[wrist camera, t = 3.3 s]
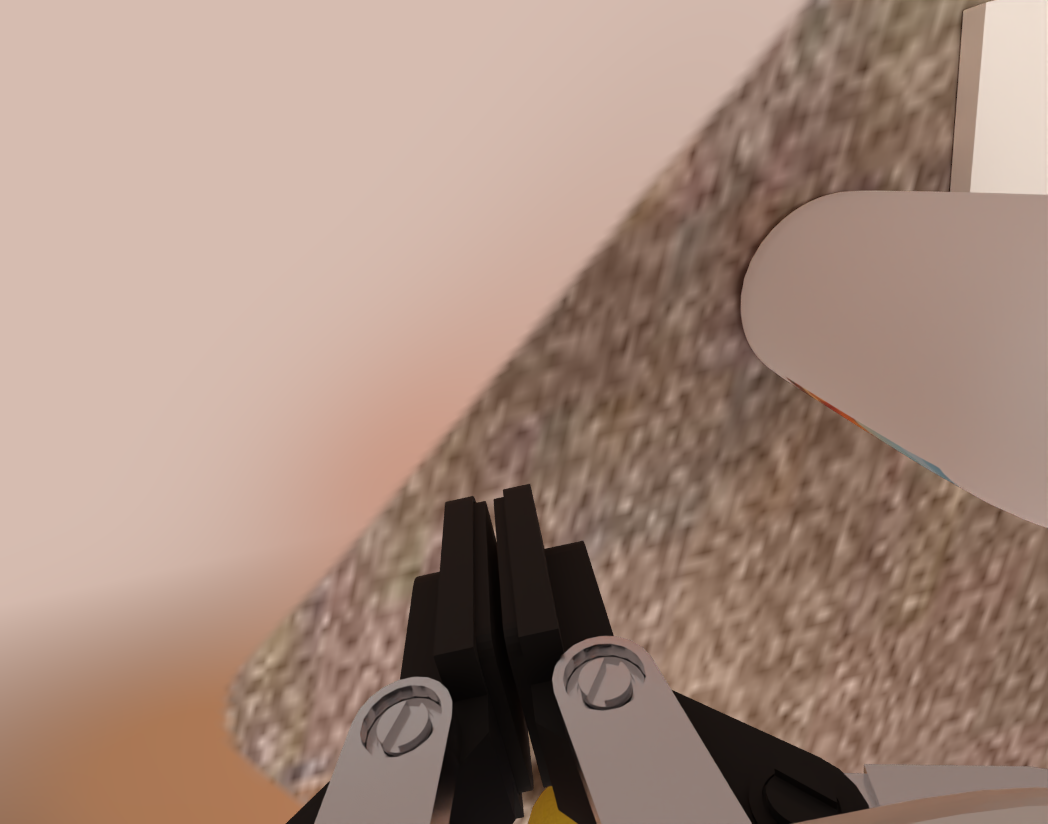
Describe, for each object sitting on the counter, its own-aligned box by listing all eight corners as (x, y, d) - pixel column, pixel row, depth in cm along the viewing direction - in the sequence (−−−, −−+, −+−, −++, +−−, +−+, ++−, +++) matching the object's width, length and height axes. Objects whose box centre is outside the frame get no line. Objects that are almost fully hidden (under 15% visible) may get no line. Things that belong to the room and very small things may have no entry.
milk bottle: (696, 324, 24) (1425, 789, 6) (818, 149, 22) (2635, -29, 4) (831, 409, 26) (1708, 964, 8) (955, 255, 24) (2597, 505, 5)
